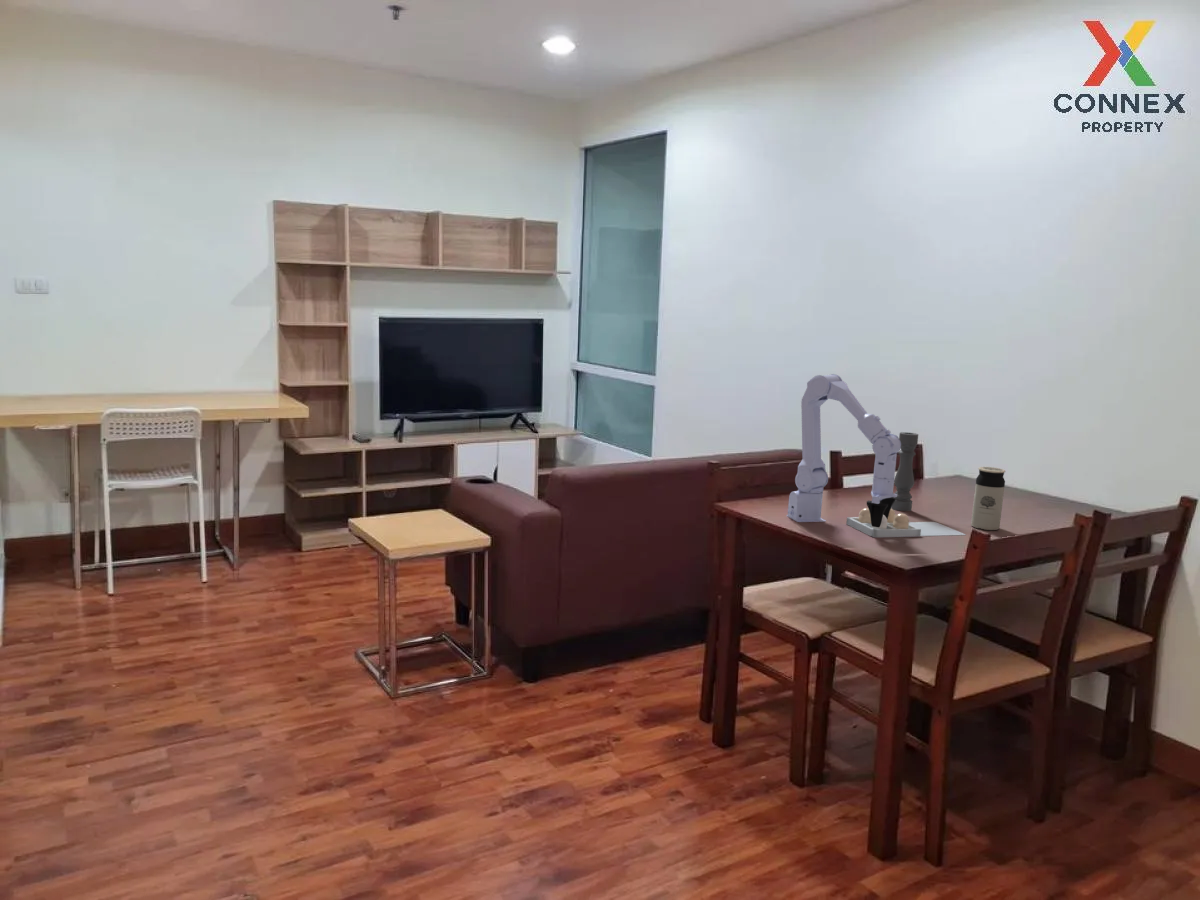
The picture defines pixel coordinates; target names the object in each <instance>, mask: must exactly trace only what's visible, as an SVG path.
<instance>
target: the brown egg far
mask: <svg viewBox="0 0 1200 900" xmlns="http://www.w3.org/2000/svg"><path fill="white" fill-rule="evenodd" d="M895 516H896V511H895V510H893V509H891V510H890V512H889V516H888V519H887V523H893V521H894V517H895Z"/></svg>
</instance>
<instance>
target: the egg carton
mask: <svg viewBox="0 0 1200 900" xmlns="http://www.w3.org/2000/svg"><path fill="white" fill-rule="evenodd" d="M845 524H846V525H847V526H849V527H850V528H853V529H855V530H857V531H860V532H862V533H864V534H865V535H867V536H870V537H872V538H904V537H905V538H907V537H908V538H909V537H911V538H912V537H915V538H916V537H945V536H946V537H947V536H949V537H950V536H951V537H952V536H966V535H967V534H965V533H963V532H962V531H961V532H960V531H958V530H956V529H954V528H951V527H949V526H946V525H944V524H941V523H940V522H936V521H915V522H913V521H909V526H908V529H896V528H894V527H893V523H887V529H873V528H871V525H872V524H871V523H861V522H859V516H852V517H848V516H847V517H846V523H845Z"/></svg>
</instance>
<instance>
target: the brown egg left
mask: <svg viewBox="0 0 1200 900" xmlns="http://www.w3.org/2000/svg"><path fill="white" fill-rule="evenodd" d="M858 517H859V522H861V523H871V517H870V511H869V508H868V507H864V508H862V509H861V510H860V511H859V513H858Z"/></svg>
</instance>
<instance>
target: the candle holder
mask: <svg viewBox="0 0 1200 900" xmlns="http://www.w3.org/2000/svg"><path fill="white" fill-rule="evenodd" d="M898 435H899V436H898V438H899V440H900V442H901V448H900V450H899V452H897V454H898V455H899V465H898V468H897V471H896V472H895V477H894V486H895V490H896V491H895V492H894V494H897V497H895V498H896V500H895V502H894V503H893V505H892V507H891V509H893V510H894V511H901V512H911V511H912V510H913V509H912V507H913V500H912V498H913V495H912V494H911V492H910V491H912V490H911V489H912V488H913V487H914V485H915V478H914V470H913V460H914V457H915V456H916V452H915V449H916V448H917V445H918V443H919V442H918V441H919V434H918V433H916V432H903V431H901V432H899V434H898Z"/></svg>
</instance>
